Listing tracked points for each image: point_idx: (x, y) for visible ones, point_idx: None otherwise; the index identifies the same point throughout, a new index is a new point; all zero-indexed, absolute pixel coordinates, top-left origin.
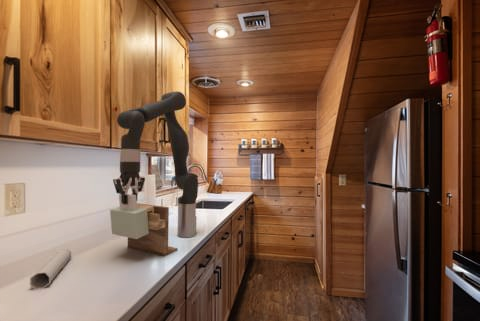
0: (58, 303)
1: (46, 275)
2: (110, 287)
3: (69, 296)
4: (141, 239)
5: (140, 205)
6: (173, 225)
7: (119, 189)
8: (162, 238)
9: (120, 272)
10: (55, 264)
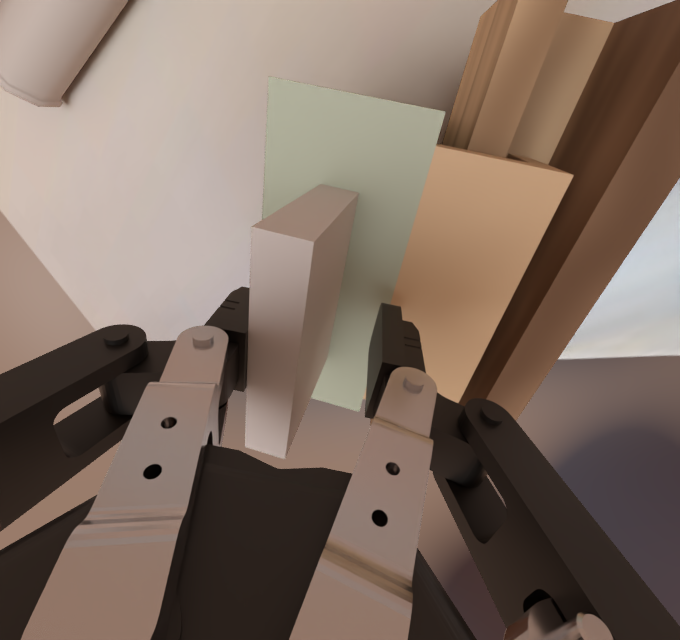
0: (62, 226)
1: None
2: (178, 287)
3: (91, 223)
4: None
5: (468, 315)
6: None
7: (59, 431)
8: None
9: None
10: (68, 12)
